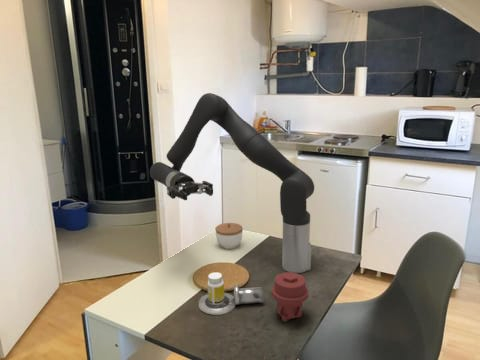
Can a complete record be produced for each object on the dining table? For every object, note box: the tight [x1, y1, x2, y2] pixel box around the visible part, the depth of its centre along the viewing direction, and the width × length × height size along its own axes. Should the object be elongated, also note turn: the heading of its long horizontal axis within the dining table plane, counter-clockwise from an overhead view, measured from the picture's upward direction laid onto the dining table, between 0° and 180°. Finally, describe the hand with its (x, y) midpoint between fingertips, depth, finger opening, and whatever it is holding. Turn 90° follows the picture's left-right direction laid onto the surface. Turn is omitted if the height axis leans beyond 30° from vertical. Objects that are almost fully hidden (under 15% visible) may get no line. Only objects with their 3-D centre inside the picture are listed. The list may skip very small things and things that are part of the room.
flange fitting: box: [198, 284, 264, 316], centre depth 114 cm, size 19×11×6 cm, turn 95°
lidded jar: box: [214, 222, 243, 250], centre depth 153 cm, size 11×11×9 cm
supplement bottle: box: [207, 271, 225, 305], centre depth 113 cm, size 5×5×8 cm
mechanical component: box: [271, 271, 309, 323], centre depth 107 cm, size 12×10×10 cm
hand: (199, 194), depth 119 cm, fingers open, 8 cm apart
